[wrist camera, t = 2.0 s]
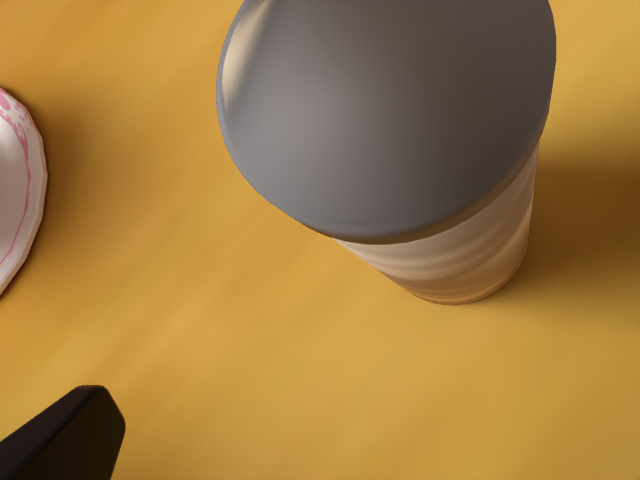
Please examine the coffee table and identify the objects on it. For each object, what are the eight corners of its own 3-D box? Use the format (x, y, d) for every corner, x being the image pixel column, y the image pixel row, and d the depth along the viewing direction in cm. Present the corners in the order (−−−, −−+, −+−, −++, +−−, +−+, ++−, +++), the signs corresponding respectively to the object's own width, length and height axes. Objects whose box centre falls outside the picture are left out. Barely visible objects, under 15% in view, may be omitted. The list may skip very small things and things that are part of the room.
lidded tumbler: (439, 340, 20) (339, 306, 8) (346, 223, 21) (162, 67, 10) (568, 239, 19) (644, 57, 8) (461, 128, 21) (399, -150, 10)
